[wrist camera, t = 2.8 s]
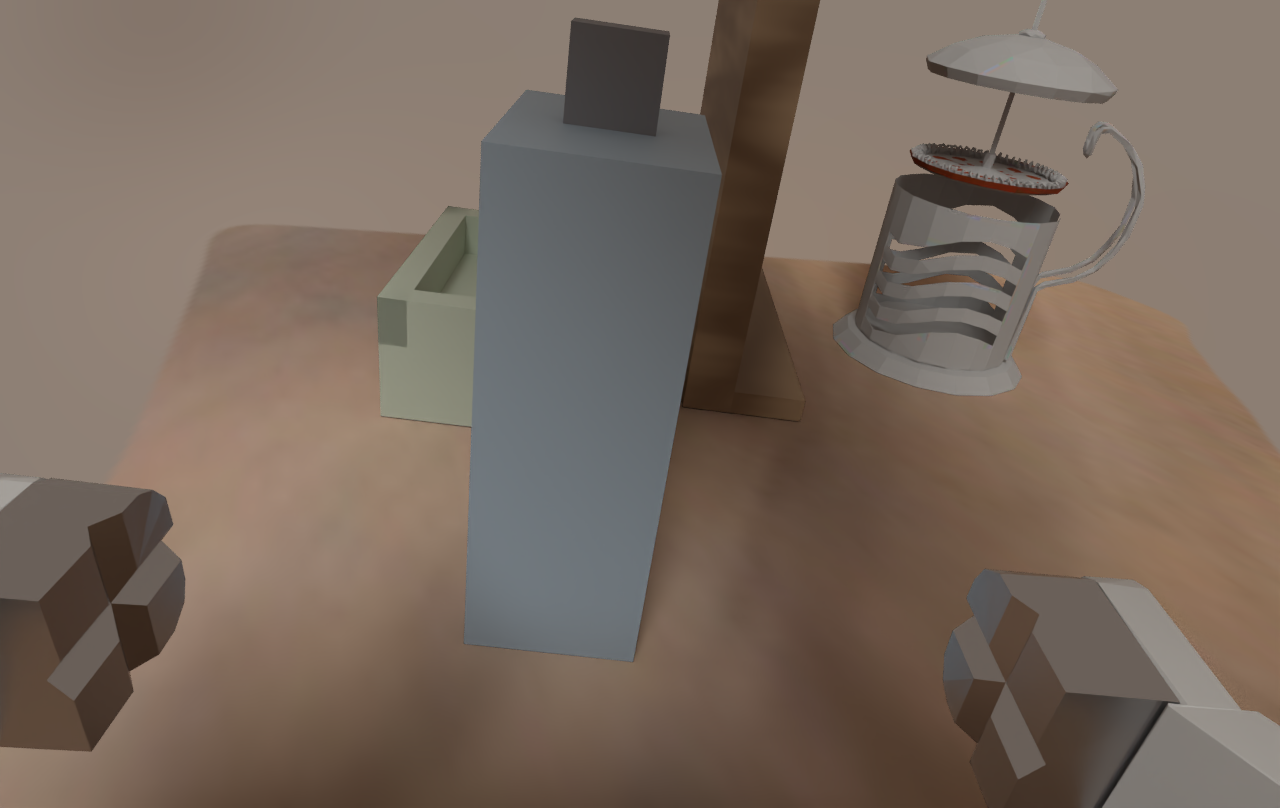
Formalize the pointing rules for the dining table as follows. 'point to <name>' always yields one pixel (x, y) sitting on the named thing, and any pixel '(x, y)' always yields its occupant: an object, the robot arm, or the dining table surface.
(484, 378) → the grey block with tab
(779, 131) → the wooden flat block
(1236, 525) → the dining table surface
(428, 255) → the pale green open box
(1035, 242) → the french press
